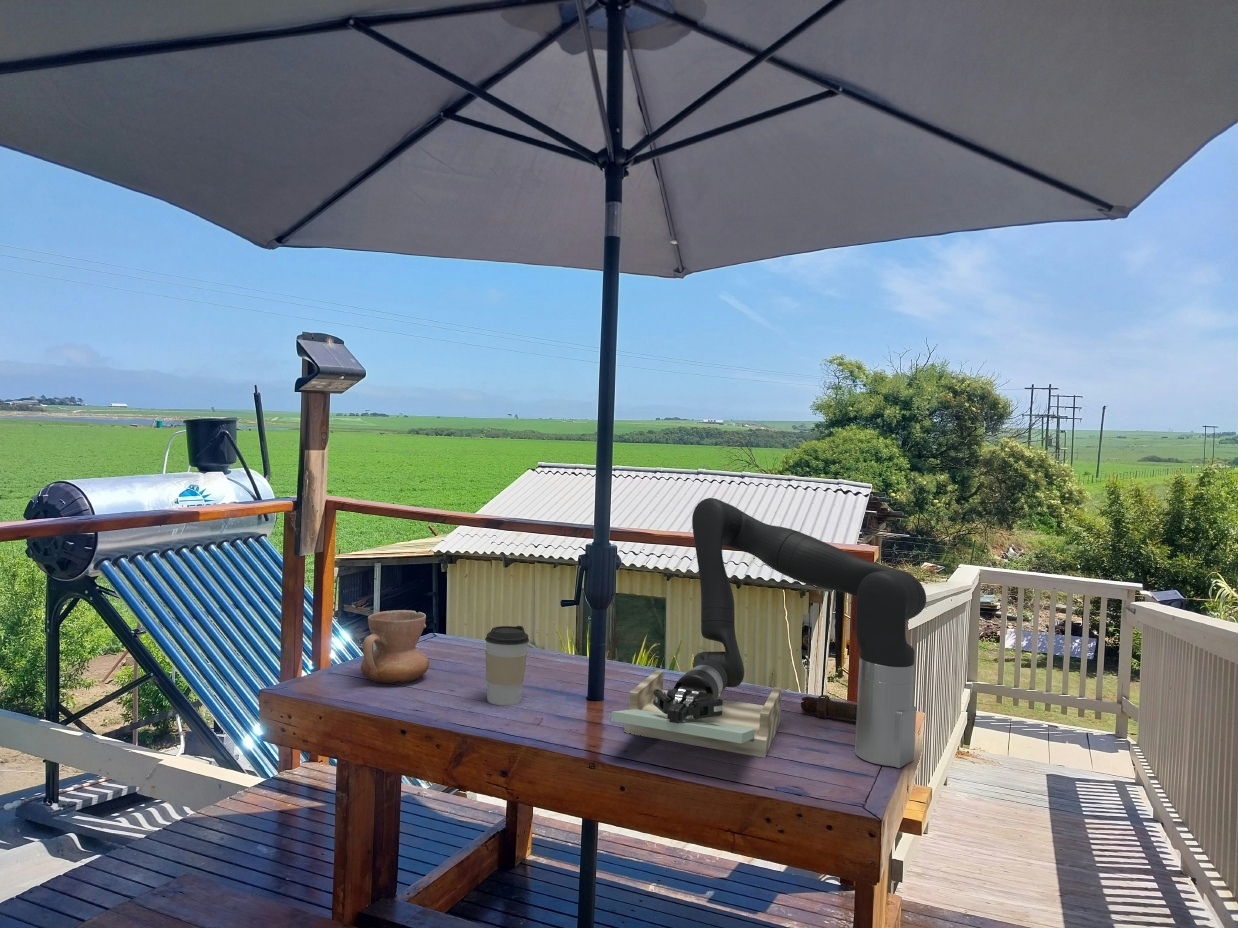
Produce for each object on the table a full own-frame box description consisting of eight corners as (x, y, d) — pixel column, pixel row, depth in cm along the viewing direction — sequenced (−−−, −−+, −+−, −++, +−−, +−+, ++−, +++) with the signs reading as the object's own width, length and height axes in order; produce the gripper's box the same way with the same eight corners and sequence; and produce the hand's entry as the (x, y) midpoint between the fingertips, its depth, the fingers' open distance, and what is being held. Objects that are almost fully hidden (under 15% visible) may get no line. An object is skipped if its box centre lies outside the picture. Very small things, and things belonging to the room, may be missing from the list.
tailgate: (636, 709, 138) (612, 711, 125) (755, 728, 131) (742, 733, 118) (634, 720, 137) (610, 724, 125) (754, 741, 130) (741, 747, 117)
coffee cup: (494, 709, 147) (498, 633, 147) (474, 696, 155) (478, 624, 155) (533, 703, 153) (537, 630, 153) (512, 691, 160) (516, 621, 160)
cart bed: (655, 702, 157) (656, 669, 157) (779, 723, 148) (781, 688, 148) (624, 732, 138) (626, 694, 138) (764, 757, 130) (766, 717, 130)
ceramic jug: (398, 665, 176) (401, 605, 176) (446, 675, 169) (448, 612, 169) (337, 683, 160) (339, 617, 160) (386, 695, 153) (389, 626, 153)
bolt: (802, 720, 157) (876, 733, 150) (797, 713, 153) (872, 727, 146) (807, 693, 160) (879, 704, 152) (801, 685, 156) (875, 697, 149)
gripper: (665, 664, 139) (636, 687, 123) (735, 674, 135) (715, 699, 119) (663, 704, 139) (634, 732, 123) (733, 715, 135) (712, 746, 119)
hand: (674, 716), depth 121 cm, fingers closed
